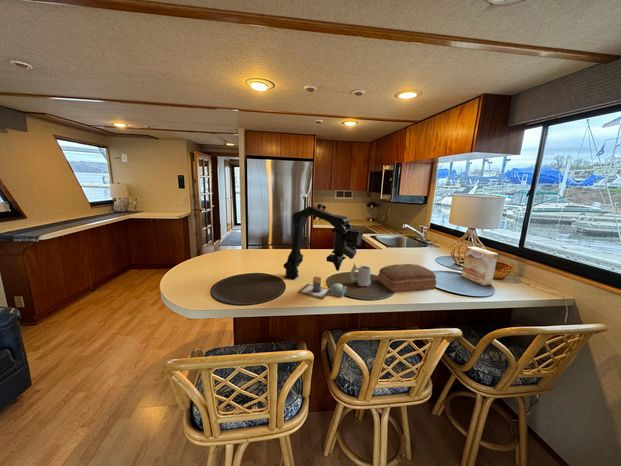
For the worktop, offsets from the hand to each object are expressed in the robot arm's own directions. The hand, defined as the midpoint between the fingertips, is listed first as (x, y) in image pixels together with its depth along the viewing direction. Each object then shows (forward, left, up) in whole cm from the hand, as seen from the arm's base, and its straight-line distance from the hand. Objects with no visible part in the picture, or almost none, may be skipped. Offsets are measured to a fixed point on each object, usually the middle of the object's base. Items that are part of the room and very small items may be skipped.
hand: (337, 270), depth 125 cm
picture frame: (-10, -6, -12) cm, 16 cm away
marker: (-9, -6, -11) cm, 15 cm away
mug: (+8, +16, -12) cm, 22 cm away
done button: (+1, -1, -11) cm, 12 cm away
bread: (+32, +30, -12) cm, 45 cm away
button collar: (+1, -1, -12) cm, 12 cm away
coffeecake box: (+70, +60, -12) cm, 93 cm away
